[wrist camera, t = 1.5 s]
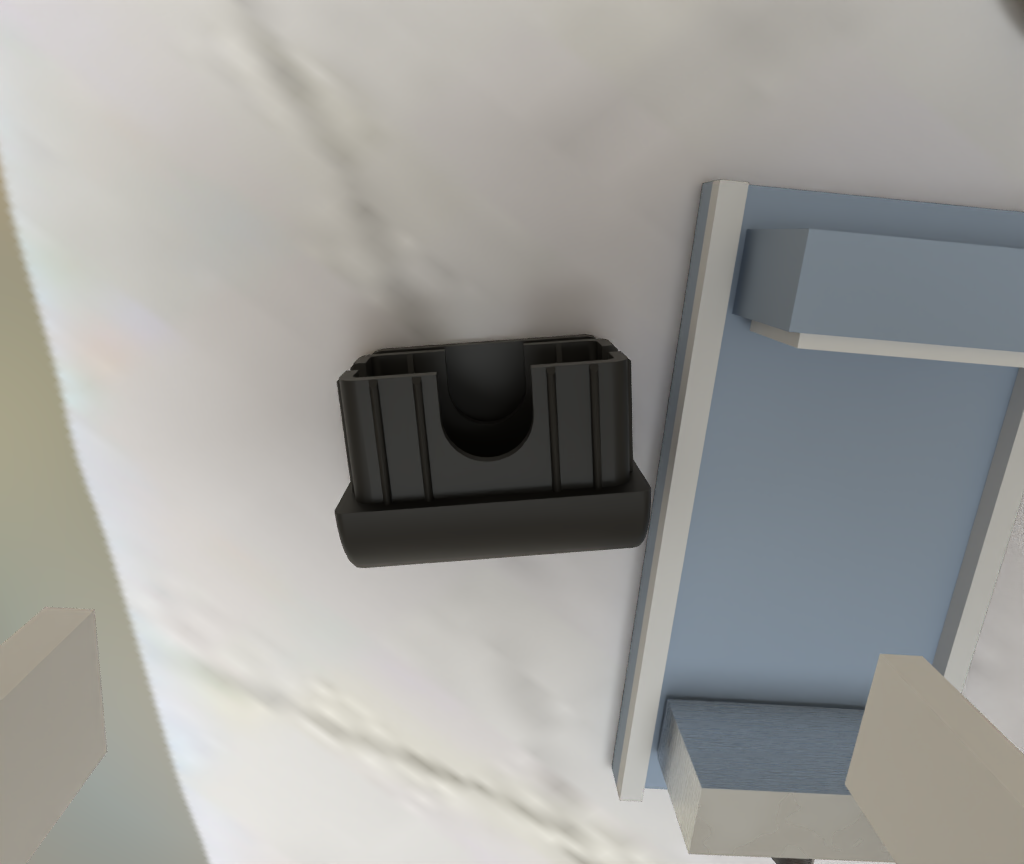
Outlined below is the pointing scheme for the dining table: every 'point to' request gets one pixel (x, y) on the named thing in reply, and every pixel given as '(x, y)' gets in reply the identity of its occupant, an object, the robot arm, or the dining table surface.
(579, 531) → the end cap
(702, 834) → the block
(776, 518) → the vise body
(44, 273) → the dining table surface
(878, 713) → the robot arm
